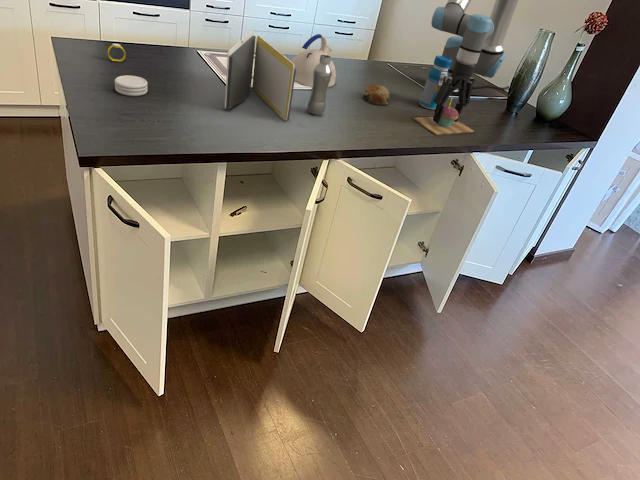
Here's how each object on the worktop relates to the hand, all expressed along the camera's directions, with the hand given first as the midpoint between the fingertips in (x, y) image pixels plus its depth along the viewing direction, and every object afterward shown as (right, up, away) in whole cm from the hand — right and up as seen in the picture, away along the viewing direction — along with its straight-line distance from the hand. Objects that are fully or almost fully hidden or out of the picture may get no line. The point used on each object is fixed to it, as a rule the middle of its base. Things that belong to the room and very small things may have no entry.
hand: (444, 121), depth 183 cm
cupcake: (0, -1, +1) cm, 1 cm away
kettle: (-52, +22, +18) cm, 59 cm away
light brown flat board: (0, -1, +1) cm, 2 cm away
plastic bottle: (-50, 0, -13) cm, 51 cm away
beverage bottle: (-2, +10, +17) cm, 20 cm away
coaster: (-110, +3, -27) cm, 113 cm away
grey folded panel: (-74, +3, -16) cm, 76 cm away
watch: (-123, +20, -7) cm, 125 cm away
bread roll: (-26, +11, +11) cm, 30 cm away
